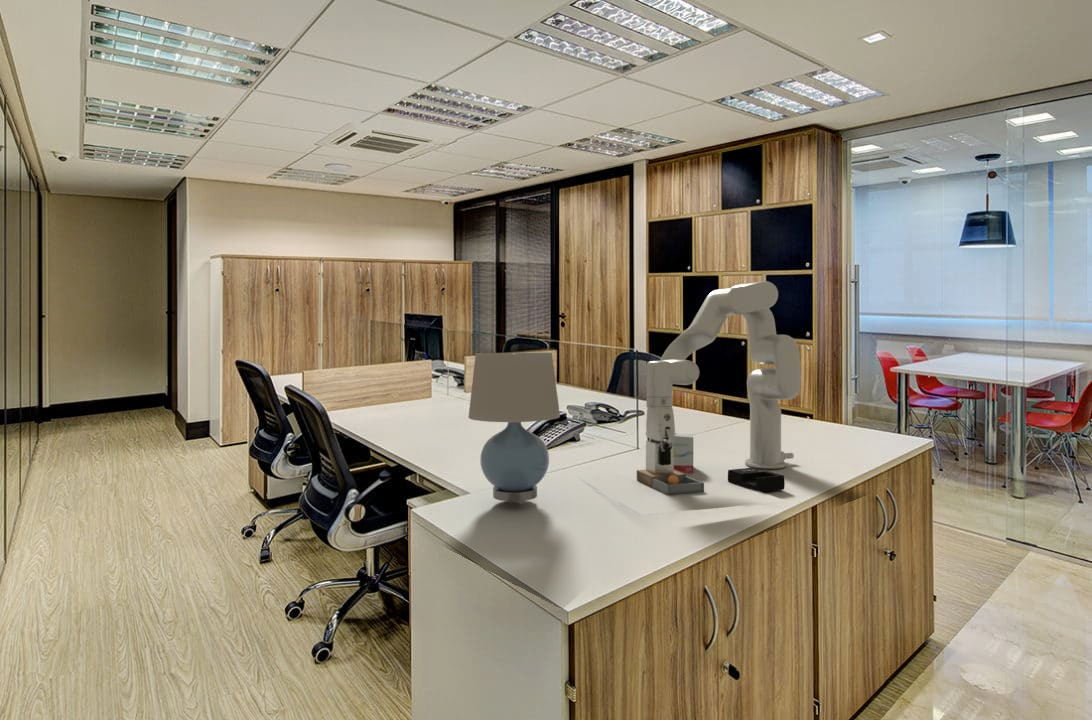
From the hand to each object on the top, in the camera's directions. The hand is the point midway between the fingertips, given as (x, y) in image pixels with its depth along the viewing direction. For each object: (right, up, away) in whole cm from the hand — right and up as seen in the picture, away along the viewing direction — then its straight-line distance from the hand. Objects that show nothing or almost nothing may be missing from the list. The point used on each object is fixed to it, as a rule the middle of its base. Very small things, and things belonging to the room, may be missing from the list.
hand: (659, 462), depth 182 cm
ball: (+2, -4, -8) cm, 9 cm away
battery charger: (+27, -6, -5) cm, 28 cm away
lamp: (-42, -7, -16) cm, 45 cm away
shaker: (0, -3, 0) cm, 3 cm away
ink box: (+9, -6, +16) cm, 19 cm away
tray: (+3, -6, -10) cm, 12 cm away
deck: (0, -6, -1) cm, 6 cm away
